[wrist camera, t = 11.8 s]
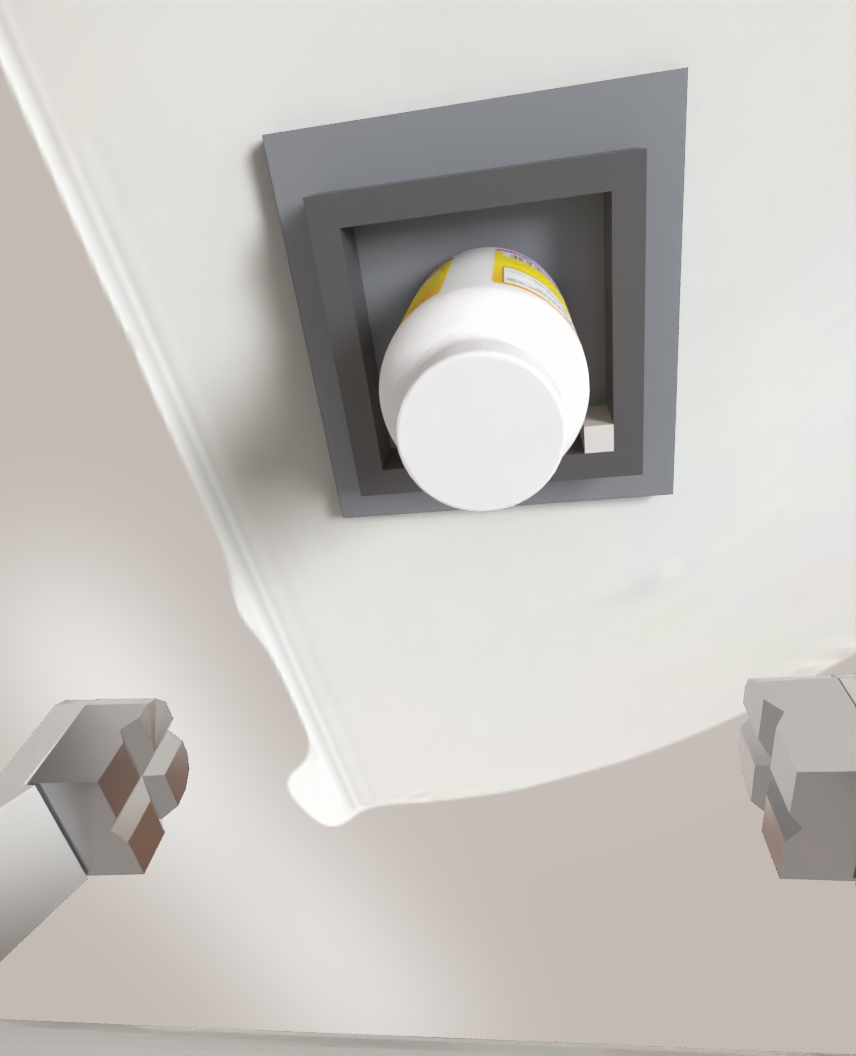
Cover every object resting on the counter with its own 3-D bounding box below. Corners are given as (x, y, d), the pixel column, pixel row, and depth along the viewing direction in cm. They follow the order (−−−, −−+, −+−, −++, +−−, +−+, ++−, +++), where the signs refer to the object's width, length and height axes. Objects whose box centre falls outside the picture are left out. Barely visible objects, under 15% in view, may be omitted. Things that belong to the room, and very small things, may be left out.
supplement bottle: (421, 407, 32) (376, 550, 21) (400, 254, 29) (334, 326, 18) (570, 394, 31) (605, 536, 20) (565, 234, 28) (602, 297, 17)
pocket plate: (269, 135, 28) (240, 134, 25) (682, 69, 26) (705, 60, 23) (347, 509, 36) (332, 542, 33) (668, 485, 34) (684, 518, 31)
